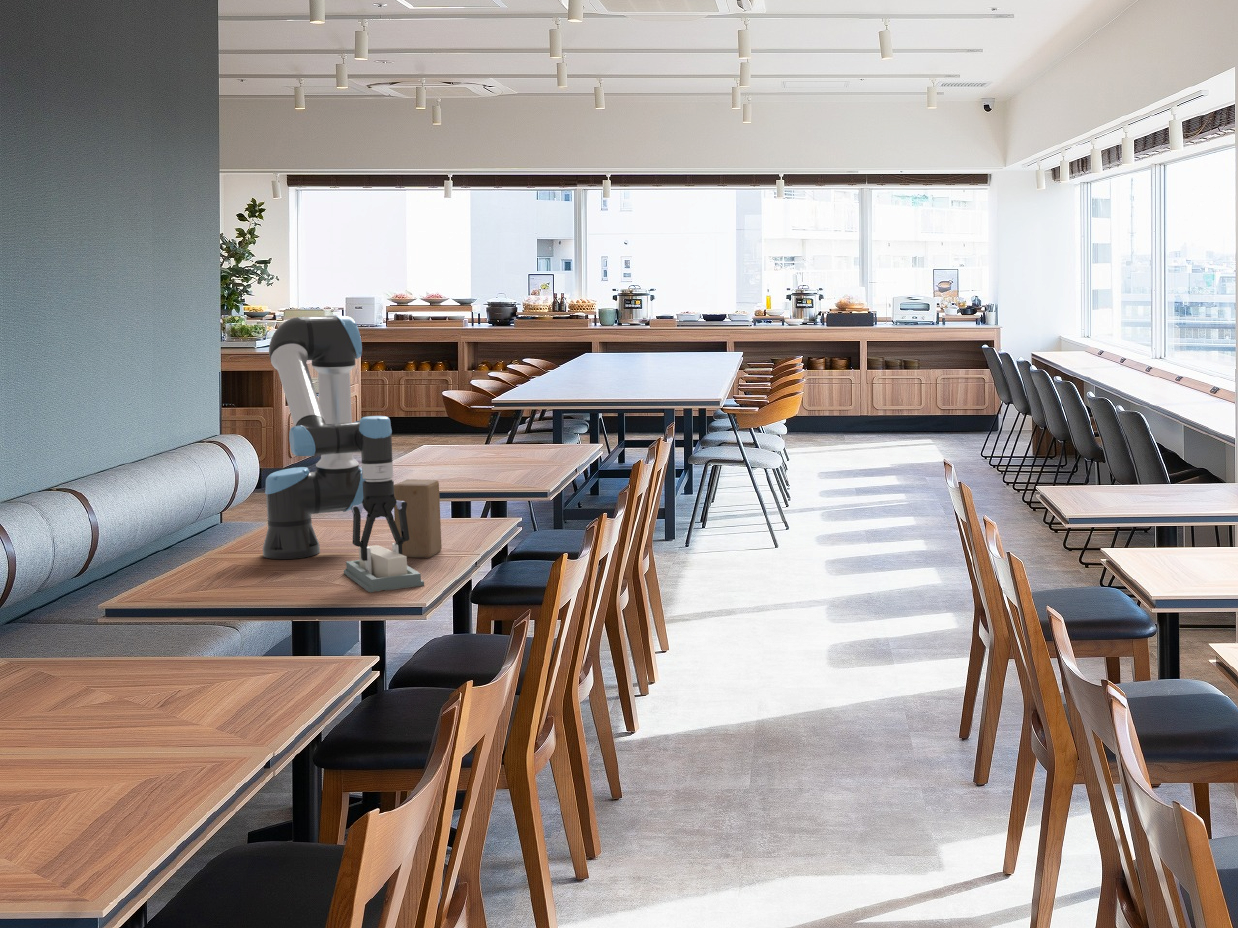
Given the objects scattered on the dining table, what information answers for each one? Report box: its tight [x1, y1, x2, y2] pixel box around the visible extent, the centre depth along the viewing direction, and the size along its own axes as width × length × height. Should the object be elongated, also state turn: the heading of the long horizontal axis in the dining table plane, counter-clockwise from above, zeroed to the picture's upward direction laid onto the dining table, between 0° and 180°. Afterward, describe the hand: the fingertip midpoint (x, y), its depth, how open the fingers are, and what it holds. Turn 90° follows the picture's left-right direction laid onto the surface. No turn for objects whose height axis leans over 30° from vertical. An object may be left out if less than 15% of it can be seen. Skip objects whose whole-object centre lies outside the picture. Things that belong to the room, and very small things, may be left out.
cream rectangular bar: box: [358, 544, 408, 578], centre depth 308 cm, size 18×5×6 cm, turn 34°
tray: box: [343, 559, 425, 593], centre depth 308 cm, size 24×14×3 cm, turn 27°
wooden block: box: [393, 478, 442, 559], centre depth 336 cm, size 10×10×20 cm
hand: (382, 571), depth 308 cm, fingers open, 6 cm apart
